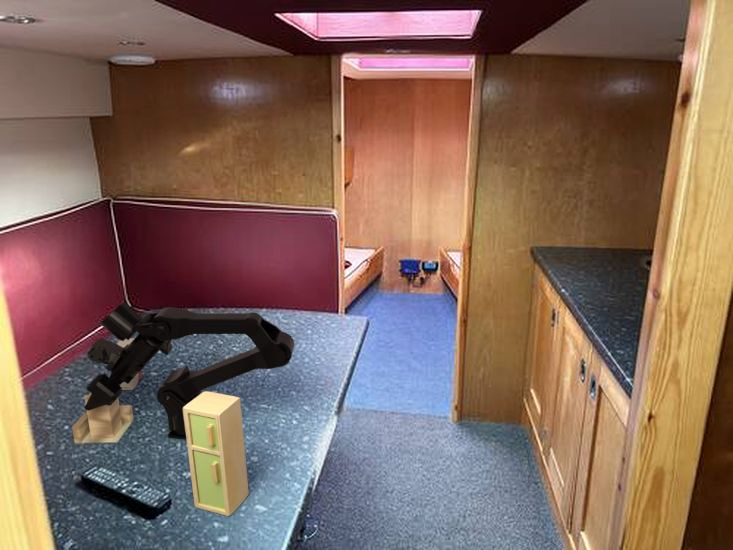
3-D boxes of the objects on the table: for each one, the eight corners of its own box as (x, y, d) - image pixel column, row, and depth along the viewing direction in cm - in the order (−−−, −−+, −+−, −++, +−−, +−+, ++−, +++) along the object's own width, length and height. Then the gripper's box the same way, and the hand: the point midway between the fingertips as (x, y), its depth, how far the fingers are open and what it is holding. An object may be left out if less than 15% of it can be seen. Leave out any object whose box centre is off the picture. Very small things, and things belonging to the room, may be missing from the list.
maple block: (122, 426, 131) (116, 387, 128) (113, 437, 126) (107, 398, 123) (100, 426, 130) (94, 387, 128) (90, 438, 126) (83, 398, 123)
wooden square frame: (133, 420, 134) (131, 405, 132) (117, 442, 124) (115, 426, 123) (93, 420, 133) (91, 405, 132) (74, 443, 124) (72, 427, 123)
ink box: (125, 376, 156) (119, 337, 153) (143, 376, 156) (138, 337, 153) (114, 391, 148) (108, 350, 144) (134, 390, 148) (129, 349, 145)
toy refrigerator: (190, 509, 103) (179, 408, 97) (214, 486, 109) (205, 389, 104) (227, 520, 100) (217, 416, 94) (249, 495, 107) (241, 397, 101)
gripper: (126, 314, 130) (85, 358, 133) (90, 346, 112) (44, 396, 115) (163, 345, 133) (123, 388, 135) (134, 381, 115) (87, 429, 117)
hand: (95, 398), depth 126 cm, fingers open, 9 cm apart
